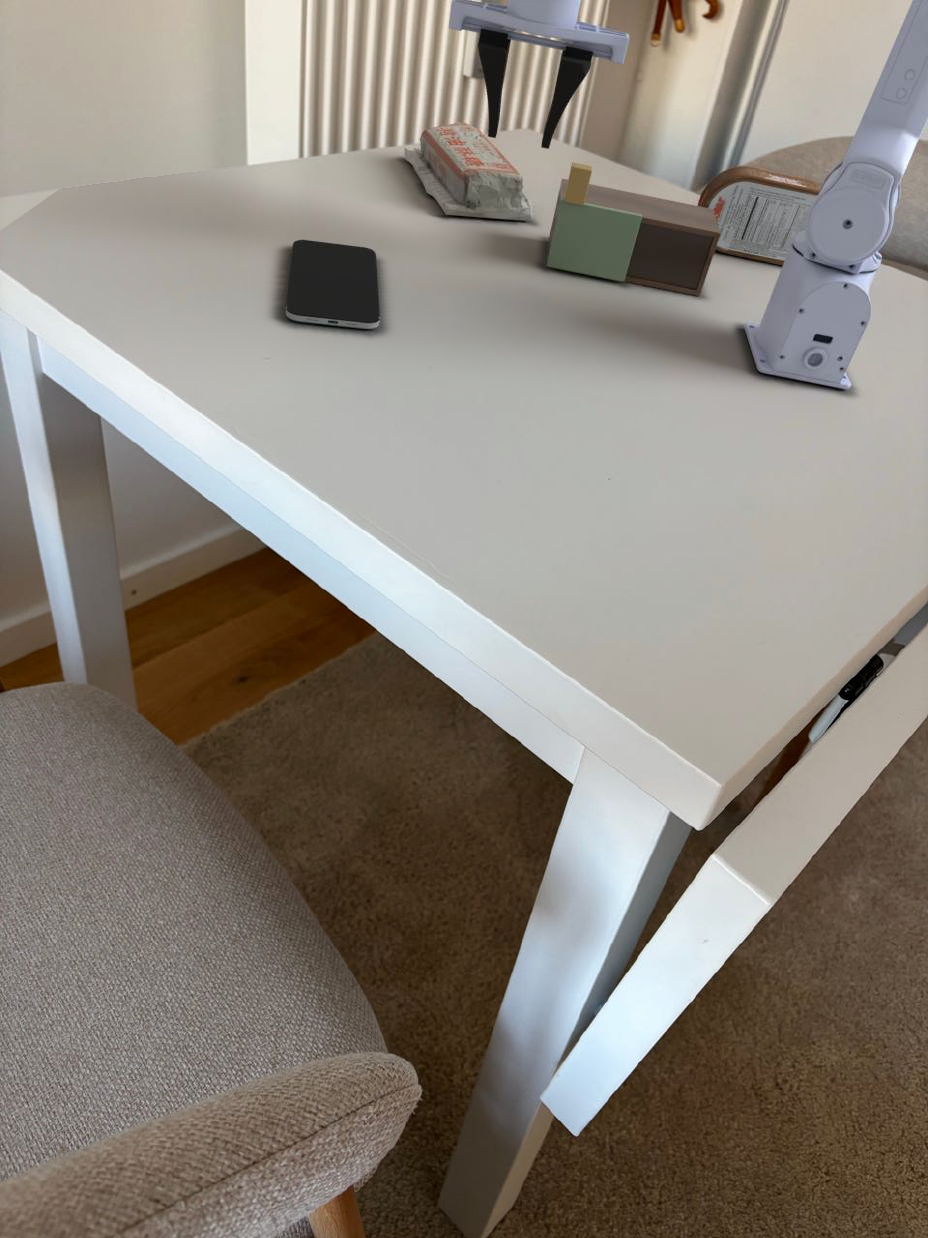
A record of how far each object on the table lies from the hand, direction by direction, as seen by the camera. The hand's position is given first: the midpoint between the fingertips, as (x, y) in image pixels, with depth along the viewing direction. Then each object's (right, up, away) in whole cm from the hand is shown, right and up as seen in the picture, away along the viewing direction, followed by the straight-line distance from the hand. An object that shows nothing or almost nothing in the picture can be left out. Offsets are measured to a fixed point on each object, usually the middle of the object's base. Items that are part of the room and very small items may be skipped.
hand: (518, 139), depth 81 cm
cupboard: (+11, -7, +10) cm, 17 cm away
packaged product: (-5, +5, +20) cm, 22 cm away
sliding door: (+7, -9, +7) cm, 13 cm away
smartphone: (-16, -14, -4) cm, 22 cm away
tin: (+27, -3, +19) cm, 33 cm away
